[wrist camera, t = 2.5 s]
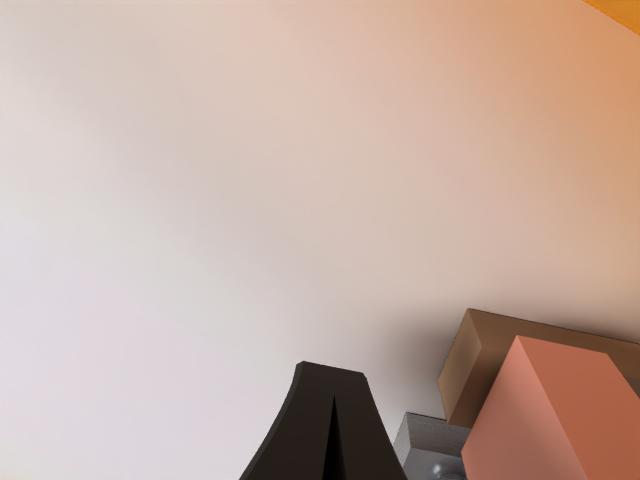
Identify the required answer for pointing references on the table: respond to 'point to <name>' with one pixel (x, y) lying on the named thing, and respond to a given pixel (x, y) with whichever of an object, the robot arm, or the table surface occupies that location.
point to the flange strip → (431, 449)
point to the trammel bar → (490, 353)
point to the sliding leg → (555, 418)
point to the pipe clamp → (620, 11)
